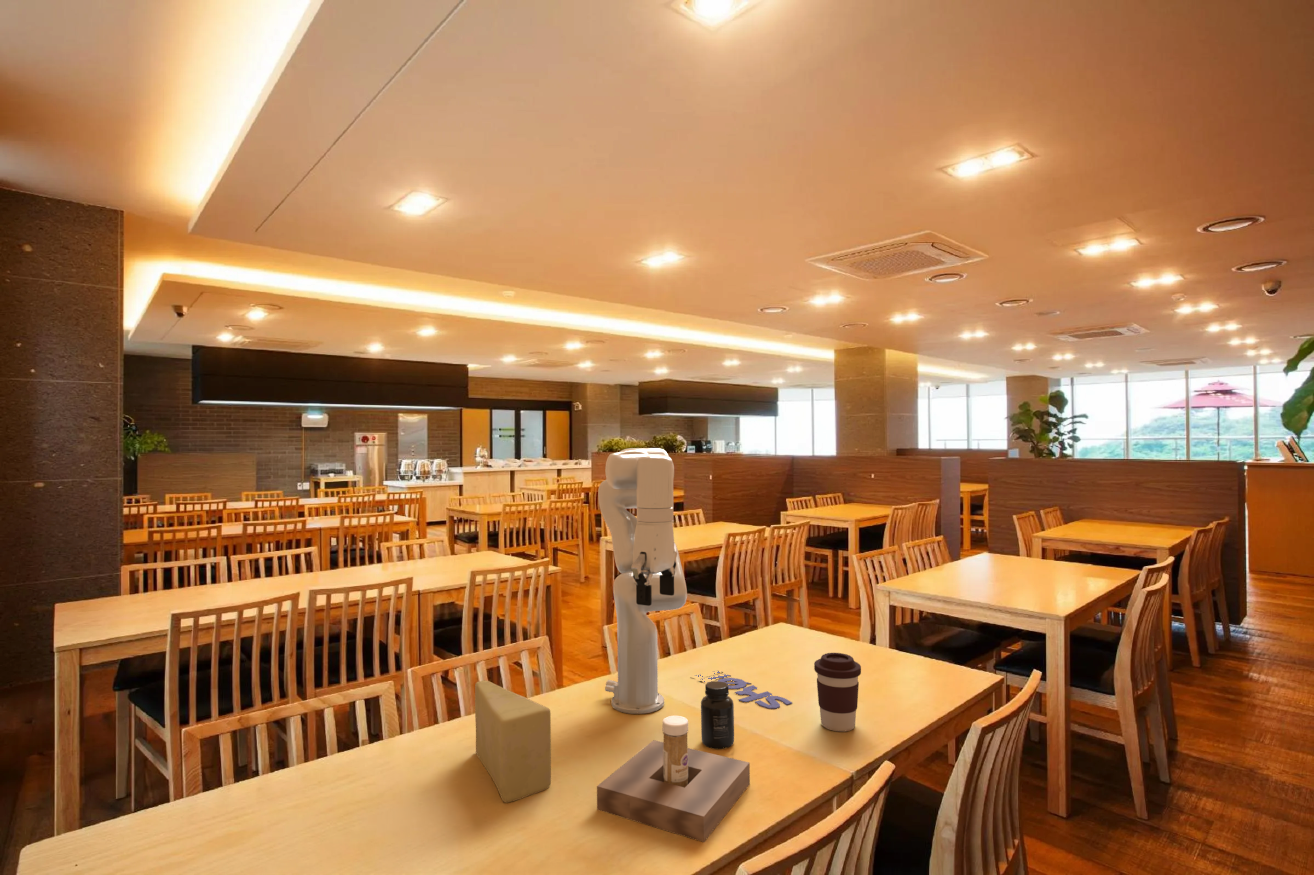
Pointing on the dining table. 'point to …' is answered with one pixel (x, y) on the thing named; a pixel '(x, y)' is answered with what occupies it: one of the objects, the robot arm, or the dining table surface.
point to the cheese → (513, 740)
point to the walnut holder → (675, 791)
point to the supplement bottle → (717, 716)
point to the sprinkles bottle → (675, 750)
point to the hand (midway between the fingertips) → (655, 599)
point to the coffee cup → (837, 690)
